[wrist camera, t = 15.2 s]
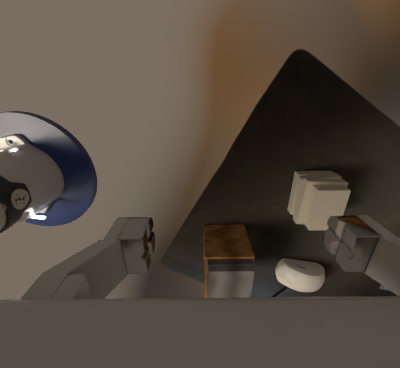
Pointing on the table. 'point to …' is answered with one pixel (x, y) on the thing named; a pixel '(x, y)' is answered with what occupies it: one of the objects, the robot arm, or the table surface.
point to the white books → (308, 190)
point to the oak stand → (228, 261)
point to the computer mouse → (300, 274)
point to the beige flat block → (325, 205)
